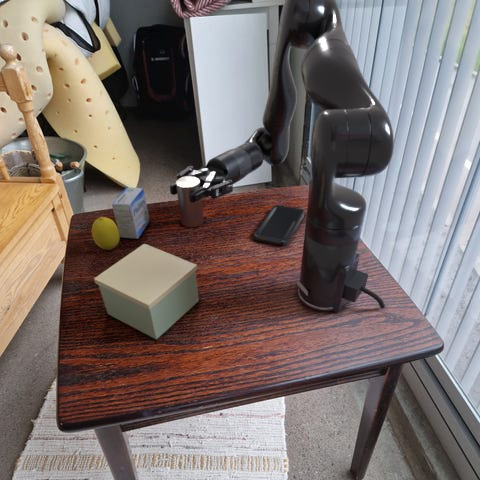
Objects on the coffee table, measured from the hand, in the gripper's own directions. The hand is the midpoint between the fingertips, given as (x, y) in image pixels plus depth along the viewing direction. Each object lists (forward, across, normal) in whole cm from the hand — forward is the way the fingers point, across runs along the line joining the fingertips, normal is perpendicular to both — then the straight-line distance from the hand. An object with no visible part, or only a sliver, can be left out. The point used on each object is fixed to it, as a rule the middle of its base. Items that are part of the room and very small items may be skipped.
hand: (181, 194), depth 94 cm
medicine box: (+8, -8, +8) cm, 14 cm away
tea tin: (-3, 0, +8) cm, 8 cm away
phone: (-13, +18, +8) cm, 24 cm away
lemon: (+17, -6, +8) cm, 20 cm away
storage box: (+24, +15, +8) cm, 30 cm away
